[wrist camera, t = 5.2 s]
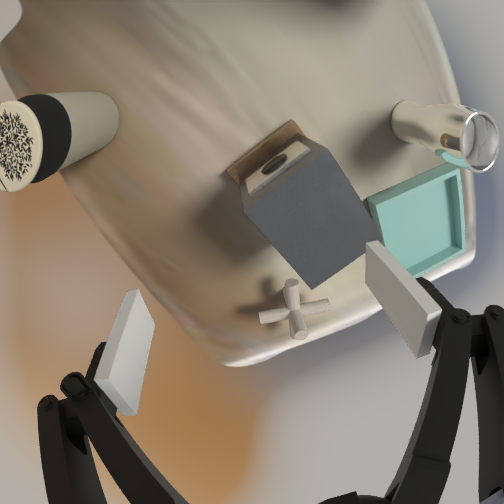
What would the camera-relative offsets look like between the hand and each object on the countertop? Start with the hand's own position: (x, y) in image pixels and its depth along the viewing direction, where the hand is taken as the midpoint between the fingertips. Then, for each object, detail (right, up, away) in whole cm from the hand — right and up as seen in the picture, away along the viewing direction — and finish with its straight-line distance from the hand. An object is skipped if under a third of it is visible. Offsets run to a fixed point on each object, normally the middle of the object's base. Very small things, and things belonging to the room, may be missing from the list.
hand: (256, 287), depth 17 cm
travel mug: (-20, +19, +15) cm, 32 cm away
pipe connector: (+5, -4, +30) cm, 31 cm away
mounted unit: (+5, +11, +22) cm, 25 cm away
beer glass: (+21, +20, +18) cm, 35 cm away
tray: (+26, +6, +26) cm, 37 cm away
